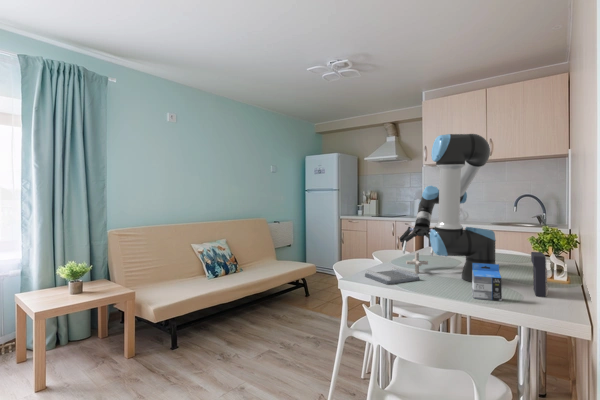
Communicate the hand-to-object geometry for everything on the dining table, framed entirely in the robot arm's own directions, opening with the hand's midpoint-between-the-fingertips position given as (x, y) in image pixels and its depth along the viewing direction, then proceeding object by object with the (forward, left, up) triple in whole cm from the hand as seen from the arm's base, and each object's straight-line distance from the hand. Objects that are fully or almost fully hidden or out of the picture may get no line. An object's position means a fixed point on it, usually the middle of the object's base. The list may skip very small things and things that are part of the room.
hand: (417, 253), depth 164 cm
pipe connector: (-3, +3, -9) cm, 10 cm away
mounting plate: (-7, +22, -9) cm, 25 cm away
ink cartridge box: (-46, +11, -9) cm, 48 cm away
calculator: (-50, -13, -9) cm, 52 cm away
